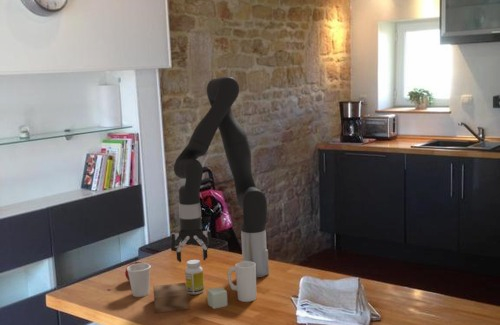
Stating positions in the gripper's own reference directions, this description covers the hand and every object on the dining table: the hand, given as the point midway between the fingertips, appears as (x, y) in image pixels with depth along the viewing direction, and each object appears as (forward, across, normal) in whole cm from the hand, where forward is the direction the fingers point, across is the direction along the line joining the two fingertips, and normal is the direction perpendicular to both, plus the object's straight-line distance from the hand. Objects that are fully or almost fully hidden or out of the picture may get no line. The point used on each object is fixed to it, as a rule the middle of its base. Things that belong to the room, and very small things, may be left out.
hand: (192, 260), depth 199 cm
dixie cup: (+12, +18, -4) cm, 22 cm away
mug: (+11, -16, +11) cm, 22 cm away
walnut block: (+12, +8, +9) cm, 17 cm away
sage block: (+11, -7, +14) cm, 19 cm away
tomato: (+12, +20, -17) cm, 28 cm away
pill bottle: (+12, -1, 0) cm, 12 cm away
